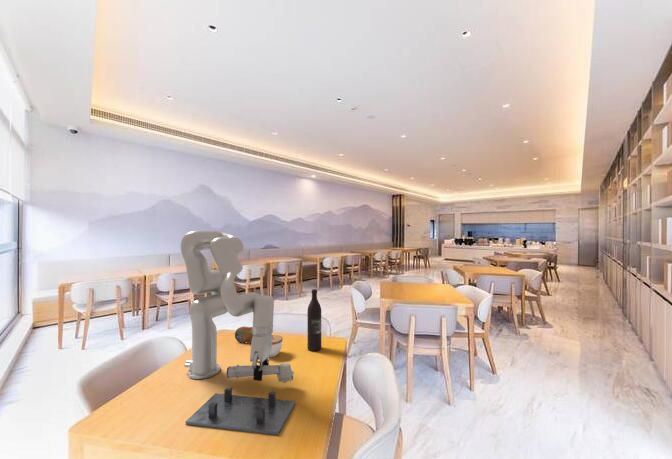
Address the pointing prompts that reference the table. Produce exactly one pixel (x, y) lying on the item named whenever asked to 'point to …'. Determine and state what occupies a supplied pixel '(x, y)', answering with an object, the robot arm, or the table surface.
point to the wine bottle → (314, 323)
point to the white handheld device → (245, 371)
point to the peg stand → (243, 413)
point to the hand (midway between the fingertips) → (261, 375)
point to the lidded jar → (276, 345)
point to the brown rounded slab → (244, 334)
